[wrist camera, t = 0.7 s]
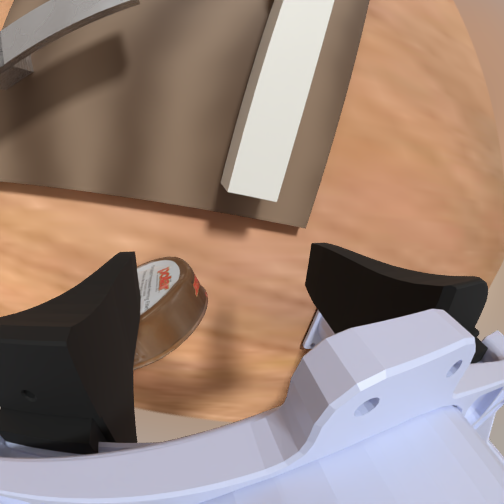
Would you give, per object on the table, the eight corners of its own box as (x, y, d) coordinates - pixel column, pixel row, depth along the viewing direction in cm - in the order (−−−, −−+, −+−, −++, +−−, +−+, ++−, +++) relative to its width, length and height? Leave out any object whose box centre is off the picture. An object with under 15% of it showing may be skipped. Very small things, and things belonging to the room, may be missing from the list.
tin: (56, 337, 21) (33, 411, 14) (35, 311, 20) (2, 382, 13) (202, 268, 22) (221, 344, 15) (184, 233, 21) (194, 300, 13)
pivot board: (366, -16, 15) (410, -35, 10) (300, 223, 23) (336, 255, 18) (66, -77, 6) (49, -110, 1) (-20, 175, 14) (-63, 196, 9)
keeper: (137, -7, 12) (130, -34, 8) (144, 21, 13) (138, -3, 9) (1, 61, 11) (-30, 54, 7) (6, 89, 12) (-26, 87, 8)
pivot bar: (284, -47, 12) (297, -62, 10) (334, -26, 13) (351, -37, 11) (212, 181, 18) (219, 190, 16) (271, 193, 20) (284, 203, 18)
